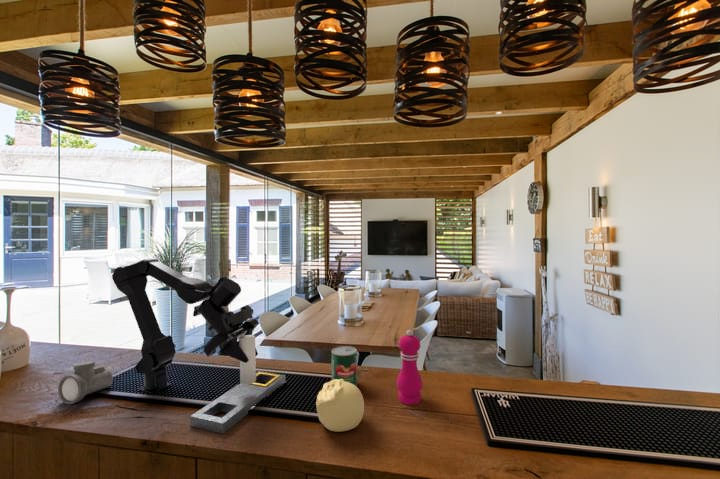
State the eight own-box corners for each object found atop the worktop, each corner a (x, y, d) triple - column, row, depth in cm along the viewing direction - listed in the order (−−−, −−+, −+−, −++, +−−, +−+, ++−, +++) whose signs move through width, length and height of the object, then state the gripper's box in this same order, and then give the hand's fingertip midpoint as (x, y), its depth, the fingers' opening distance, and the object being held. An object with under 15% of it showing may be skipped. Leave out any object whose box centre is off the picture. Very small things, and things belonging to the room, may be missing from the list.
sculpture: (319, 411, 93) (319, 372, 92) (364, 412, 92) (364, 372, 92) (312, 438, 81) (311, 392, 81) (363, 438, 81) (363, 393, 80)
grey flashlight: (77, 406, 96) (77, 367, 97) (56, 404, 98) (56, 367, 99) (118, 391, 107) (118, 356, 108) (98, 390, 109) (99, 356, 110)
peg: (237, 384, 96) (236, 339, 96) (244, 377, 100) (243, 334, 100) (251, 384, 96) (251, 340, 95) (258, 378, 100) (257, 335, 99)
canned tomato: (342, 393, 102) (341, 357, 102) (326, 384, 108) (326, 350, 108) (362, 385, 108) (362, 350, 107) (346, 377, 113) (346, 344, 113)
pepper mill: (425, 396, 101) (425, 327, 100) (418, 408, 94) (418, 335, 93) (401, 391, 104) (401, 325, 103) (393, 402, 97) (393, 332, 96)
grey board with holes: (223, 433, 83) (222, 422, 83) (190, 426, 86) (190, 415, 86) (285, 383, 110) (285, 374, 109) (258, 378, 113) (258, 370, 113)
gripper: (212, 305, 89) (250, 352, 87) (252, 292, 107) (286, 330, 105) (187, 333, 91) (224, 379, 89) (231, 315, 109) (263, 353, 107)
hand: (252, 358), depth 97 cm, fingers closed on peg, 4 cm apart
